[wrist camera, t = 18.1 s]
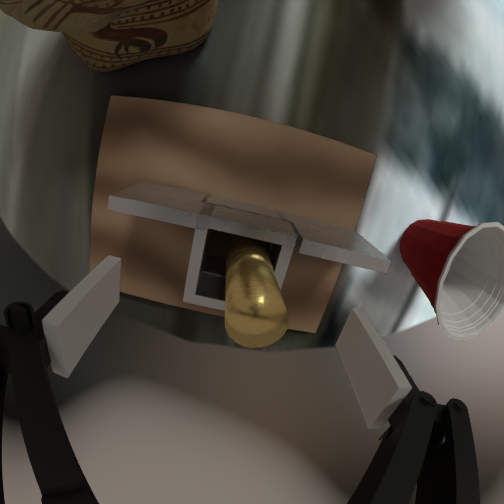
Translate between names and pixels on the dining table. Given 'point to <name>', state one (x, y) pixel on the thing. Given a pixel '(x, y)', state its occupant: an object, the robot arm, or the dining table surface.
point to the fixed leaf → (306, 239)
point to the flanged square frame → (205, 232)
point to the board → (219, 194)
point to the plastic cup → (458, 272)
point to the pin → (252, 294)
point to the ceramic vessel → (119, 27)
